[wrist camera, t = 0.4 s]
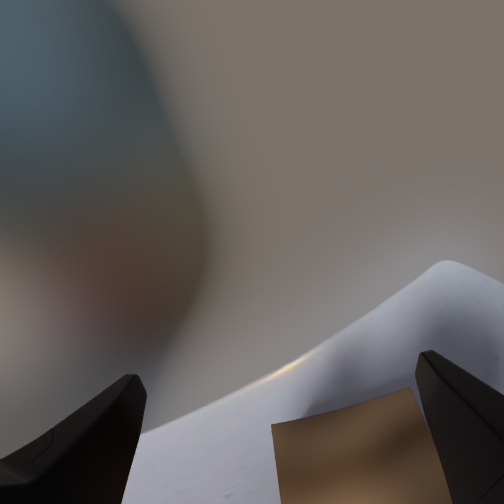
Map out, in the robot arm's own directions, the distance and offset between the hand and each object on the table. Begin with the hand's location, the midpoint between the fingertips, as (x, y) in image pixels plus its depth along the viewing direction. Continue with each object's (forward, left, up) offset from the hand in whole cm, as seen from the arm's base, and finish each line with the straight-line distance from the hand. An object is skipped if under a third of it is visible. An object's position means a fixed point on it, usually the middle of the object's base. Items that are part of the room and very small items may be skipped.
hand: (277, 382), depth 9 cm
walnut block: (0, -3, -17) cm, 17 cm away
